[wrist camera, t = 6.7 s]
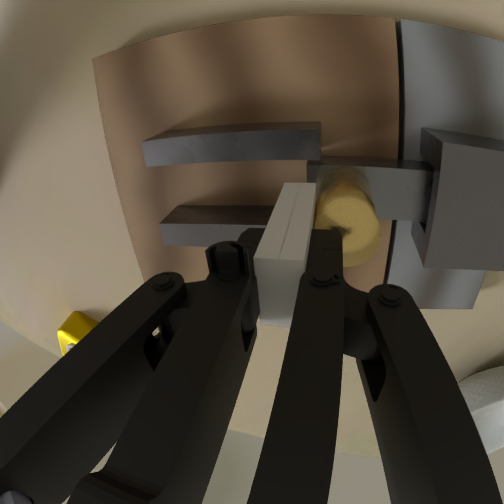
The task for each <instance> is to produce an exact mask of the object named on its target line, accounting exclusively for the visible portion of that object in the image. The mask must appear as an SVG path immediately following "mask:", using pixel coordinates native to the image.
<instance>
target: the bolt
mask: <svg viewBox="0 0 504 504" xmlns="http://www.w3.org/2000/svg"><path fill="white" fill-rule="evenodd" d="M306 168H307V183H316V213H315V220H314V228H313V229H329V230H338V232H339V233H340V234H341V235H342V238H343V267H352V266H357V265H360V264H363V263H365V262H366V261H368V260H369V259H370V258H372V257H373V256H374V254H375V253H376V252H377V250H378V248H379V246H380V243H381V229H380V226H379V222H378V219H387V220H405V221H421V222H427V219H428V213H429V206H430V199H431V191H432V183H433V175H434V167H433V166H432V165H431V164H430V163H429V162H426V161H415V160H403V159H389V158H373V157H352V156H321V158H320V160H307V164H306Z"/></svg>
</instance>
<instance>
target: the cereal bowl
mask: <svg viewBox="0 0 504 504" xmlns="http://www.w3.org/2000/svg"><path fill="white" fill-rule="evenodd" d="M458 386H459V388H460V390H461V392H462V394H463V397H464V399H465V401H466V403H467V406H468V408H469V410H470V413H471V415H472V417H473V420H474V422H475V425H476V427H477V430H478V432H479V435H480V437H481V440H482V442H483V445H484V448H485V450H486V453H487V454H490V453H492V452H494V451H496V450H499V449H501V448H503V447H504V366H500V367H496V368H491V369H488V370H485V371H481V372H478V373H475V374H473V375H471V376H469V377H467V378H465V379H464V380H462V381H460V382H459V383H458Z"/></svg>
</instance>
